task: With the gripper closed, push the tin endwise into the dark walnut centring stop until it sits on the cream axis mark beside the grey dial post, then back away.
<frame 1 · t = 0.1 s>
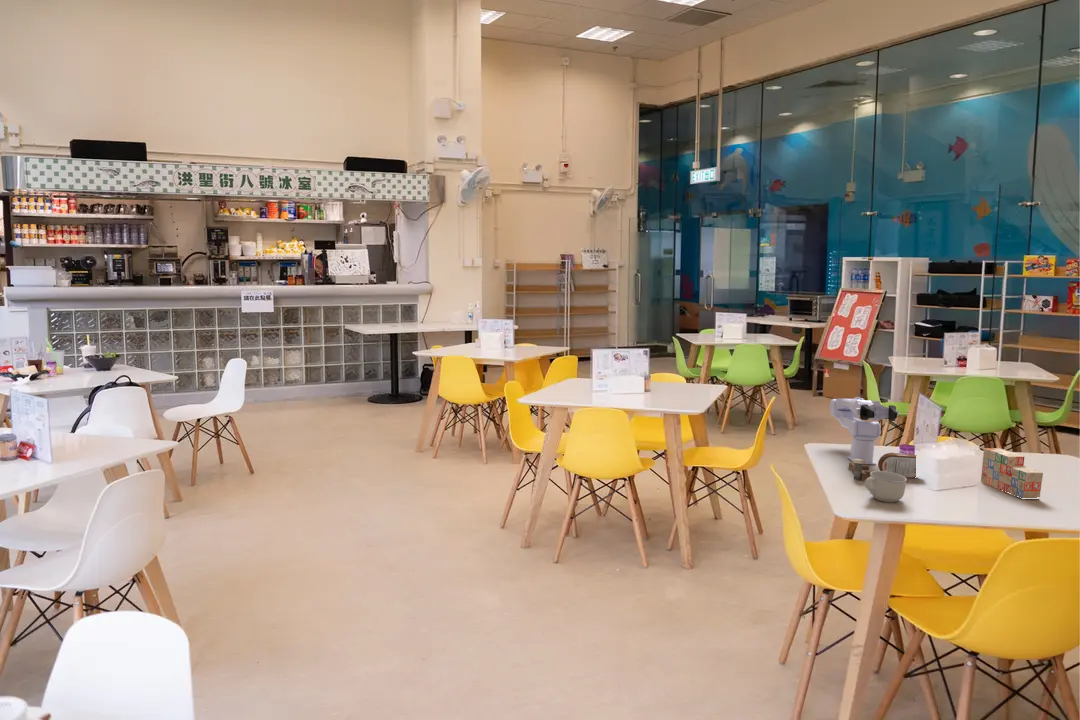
hand: (884, 414, 284), 22 cm above the table, tool horizontal, fingers open, 7 cm apart
teacup: (881, 500, 257), on the table
tin: (900, 478, 285), on the table
centring stop: (865, 475, 286), on the table
stack of blocks: (1008, 491, 273), on the table
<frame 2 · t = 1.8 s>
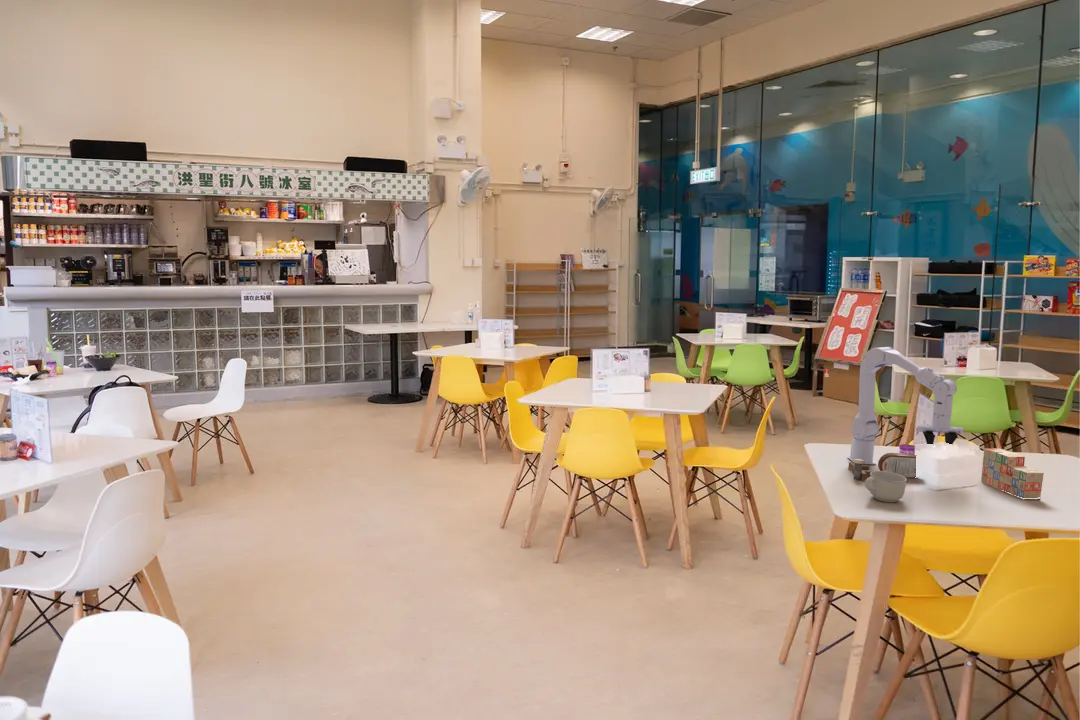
hand: (938, 452, 283), 9 cm above the table, tool pointing down, fingers open, 5 cm apart
nothing on the table moved.
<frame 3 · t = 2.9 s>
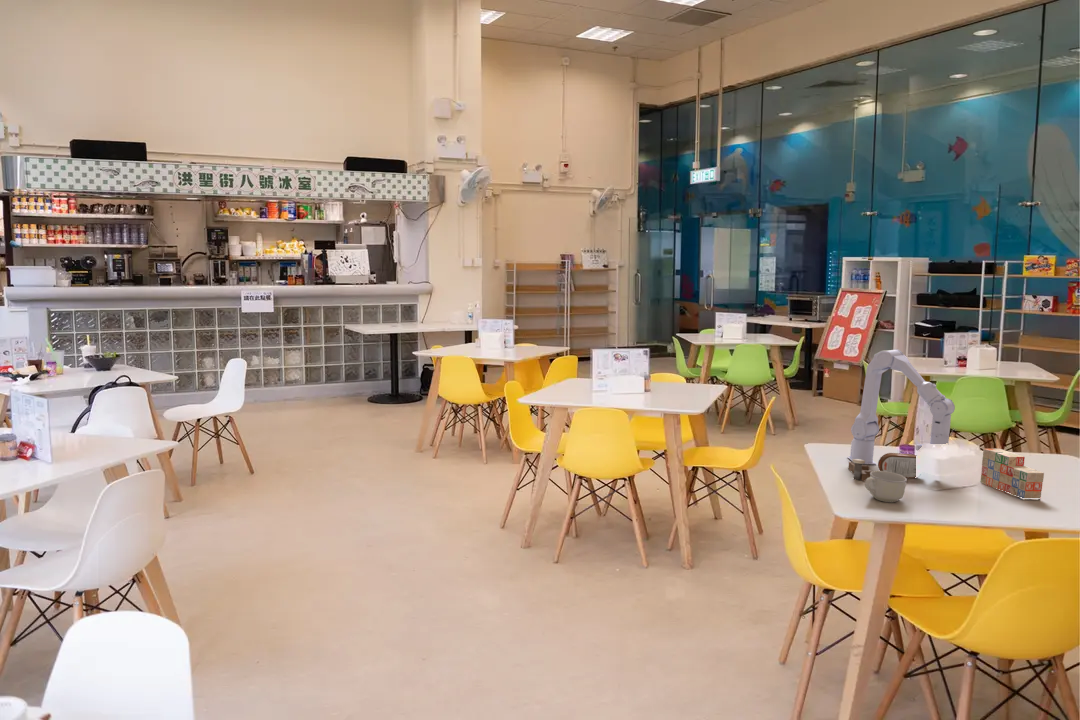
hand: (936, 471, 284), 3 cm above the table, tool pointing down, fingers closed
nothing on the table moved.
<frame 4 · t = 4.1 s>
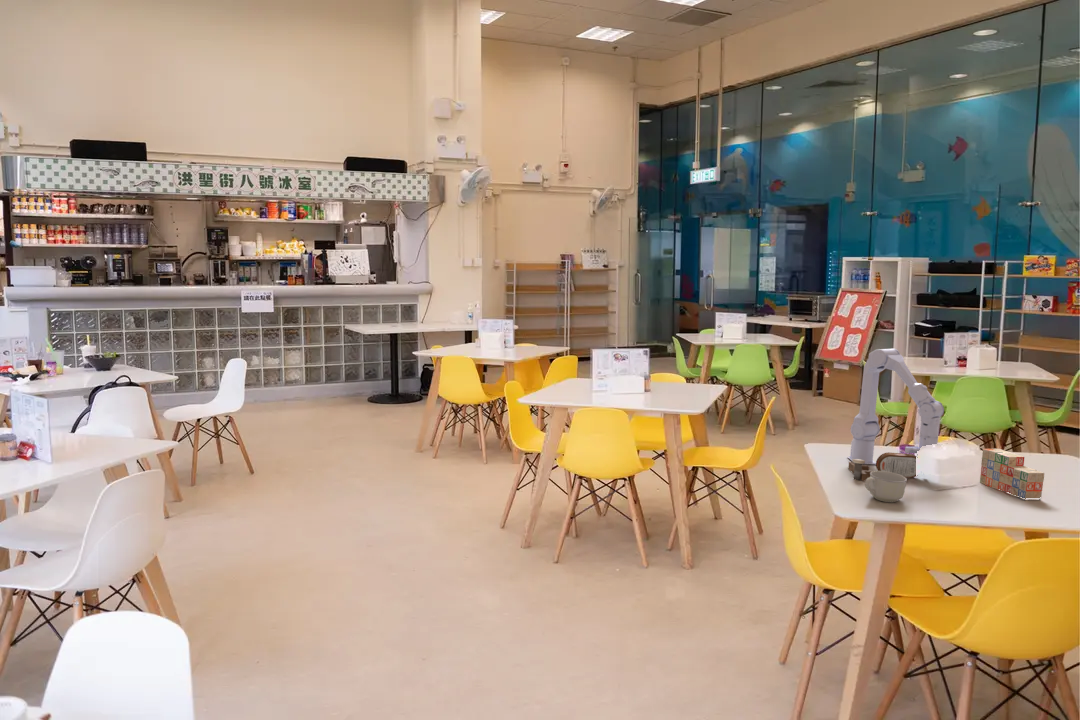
hand: (925, 474, 284), 2 cm above the table, tool pointing down, fingers closed
tin: (898, 477, 285), on the table, touching gripper
everything else where it was.
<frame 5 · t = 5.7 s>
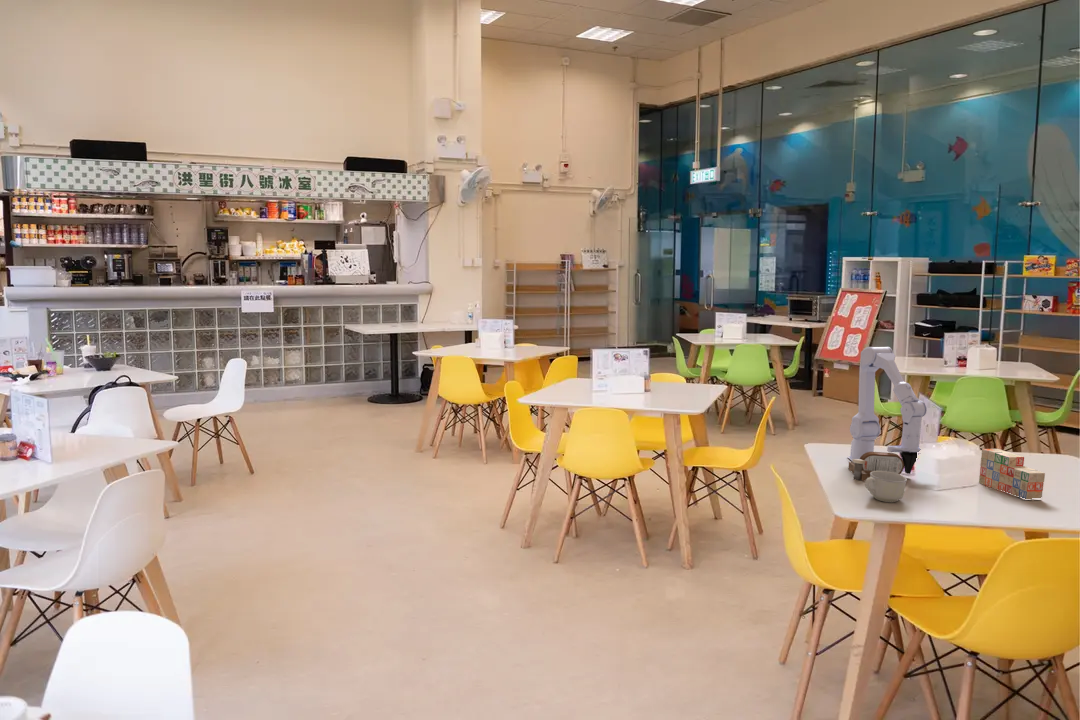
hand: (907, 473, 285), 2 cm above the table, tool pointing down, fingers closed
tin: (880, 476, 285), on the table, touching centring stop, gripper
everything else where it was.
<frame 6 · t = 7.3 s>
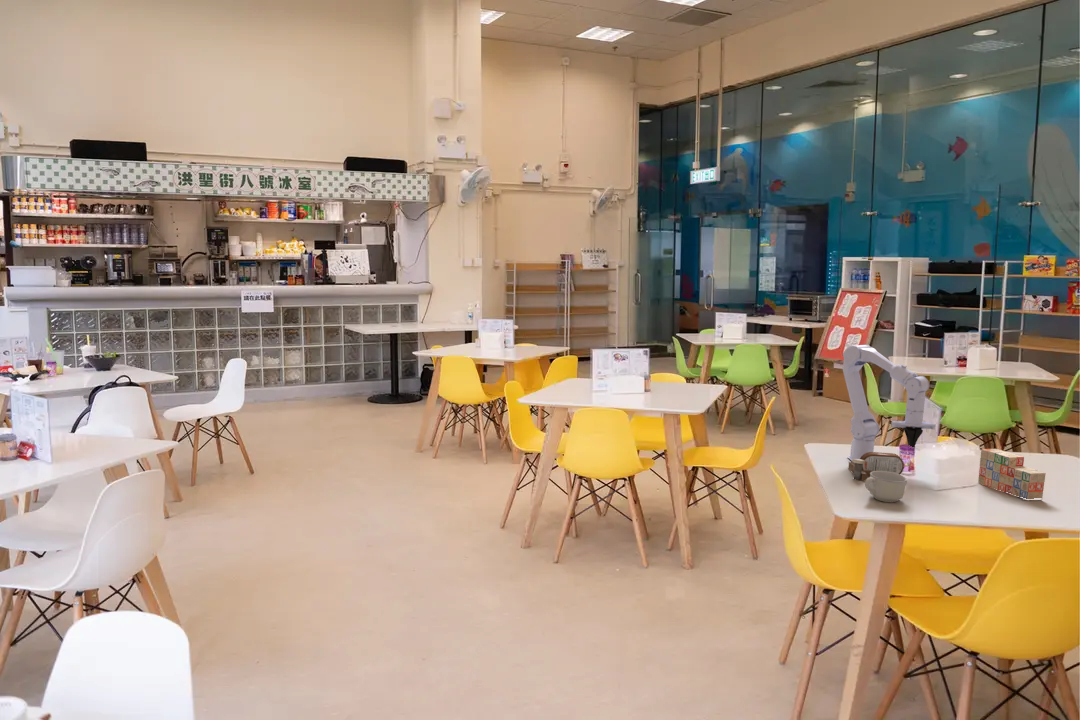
hand: (911, 447, 289), 9 cm above the table, tool pointing down, fingers closed
tin: (880, 477, 285), on the table
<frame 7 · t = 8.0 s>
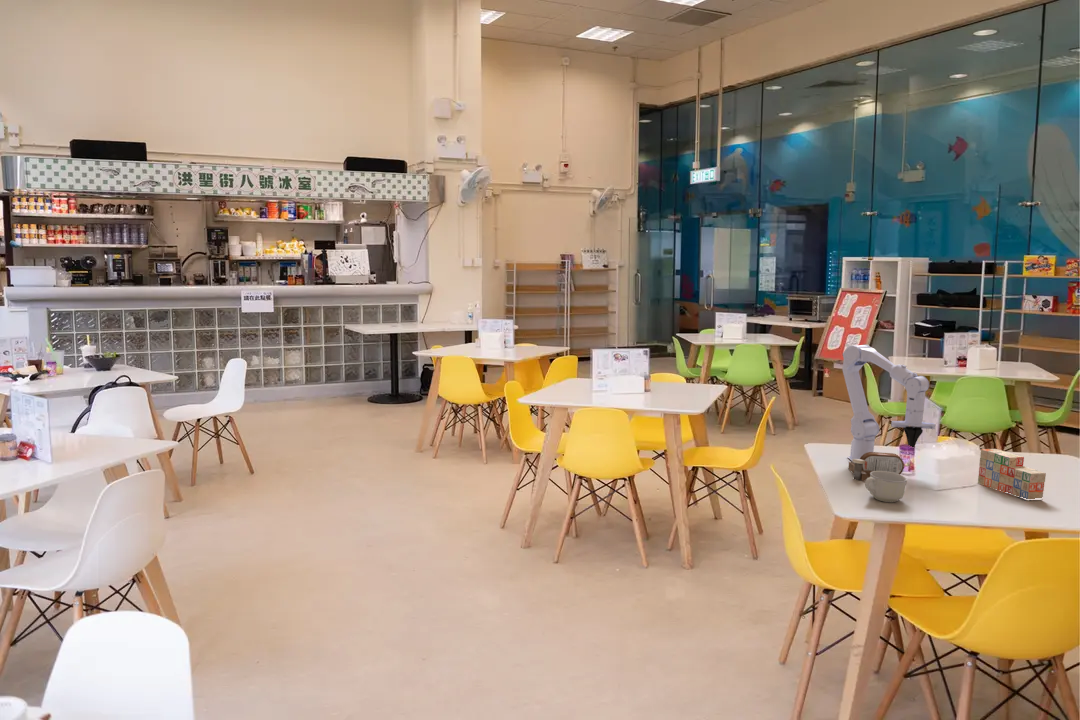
hand: (911, 447, 289), 9 cm above the table, tool pointing down, fingers closed
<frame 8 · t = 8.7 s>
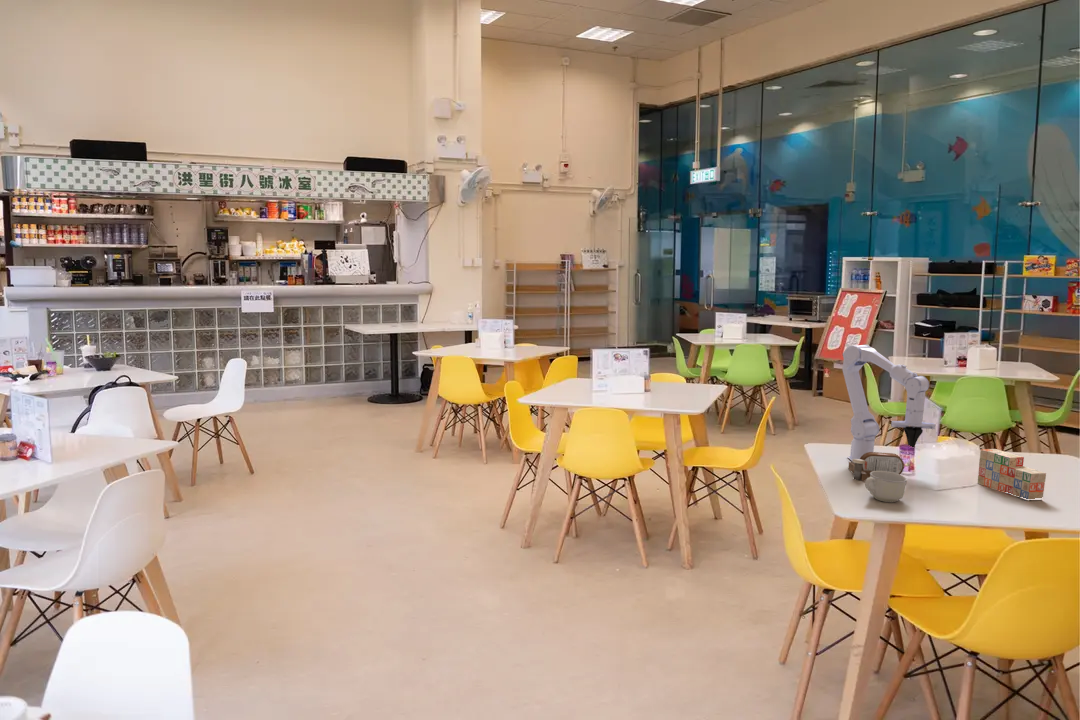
hand: (911, 447, 289), 9 cm above the table, tool pointing down, fingers closed
at the end: tin 0.3 cm from the target spot, on the table; tin tilted 0°; tin moved 6.8 cm from its start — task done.
